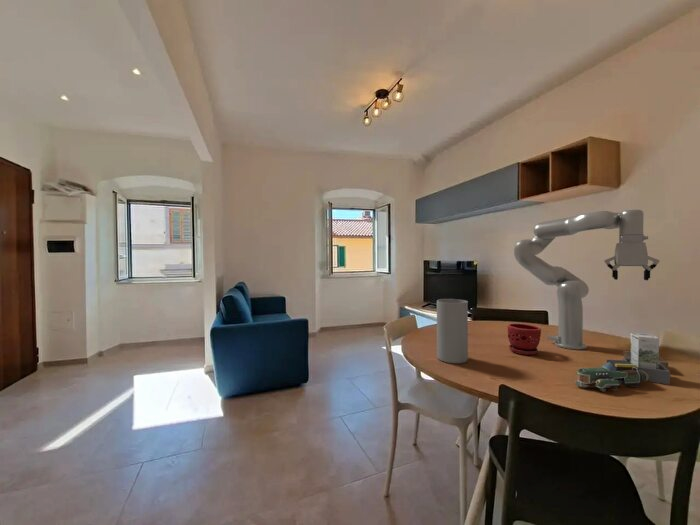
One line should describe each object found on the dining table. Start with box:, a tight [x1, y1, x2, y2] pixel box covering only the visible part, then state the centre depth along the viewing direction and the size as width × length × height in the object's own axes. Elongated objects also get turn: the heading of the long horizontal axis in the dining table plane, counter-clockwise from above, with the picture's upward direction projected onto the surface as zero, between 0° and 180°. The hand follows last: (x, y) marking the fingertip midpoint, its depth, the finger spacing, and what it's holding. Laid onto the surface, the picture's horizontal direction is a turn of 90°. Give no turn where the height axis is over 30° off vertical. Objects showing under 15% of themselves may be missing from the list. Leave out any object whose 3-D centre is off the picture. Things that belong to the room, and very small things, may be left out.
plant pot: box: [507, 323, 542, 356], centre depth 138 cm, size 13×13×12 cm
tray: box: [621, 357, 671, 386], centre depth 109 cm, size 10×10×4 cm
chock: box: [606, 359, 637, 371], centre depth 107 cm, size 6×5×6 cm
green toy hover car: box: [574, 361, 649, 392], centre depth 101 cm, size 10×25×8 cm, turn 94°
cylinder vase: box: [436, 298, 469, 365], centre depth 129 cm, size 12×12×25 cm
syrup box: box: [629, 332, 660, 369], centre depth 109 cm, size 6×6×14 cm
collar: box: [623, 350, 669, 370], centre depth 118 cm, size 10×10×4 cm
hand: (630, 279), depth 128 cm, fingers open, 9 cm apart
